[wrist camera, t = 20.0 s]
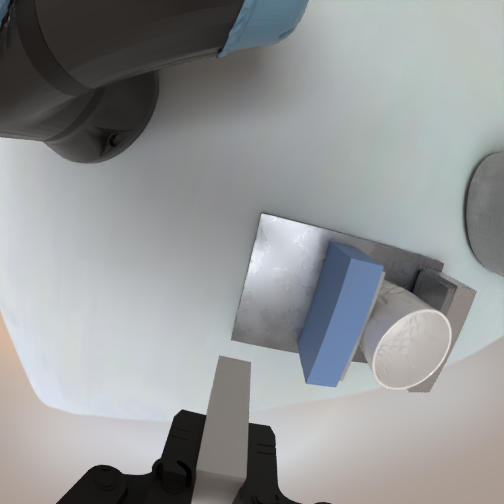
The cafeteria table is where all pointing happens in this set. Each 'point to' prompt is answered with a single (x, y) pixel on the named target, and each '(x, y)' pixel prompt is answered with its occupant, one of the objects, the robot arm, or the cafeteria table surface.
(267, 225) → the vise bed
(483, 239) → the planter
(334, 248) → the sliding jaw
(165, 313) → the cafeteria table surface
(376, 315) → the white cup
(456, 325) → the fixed jaw
